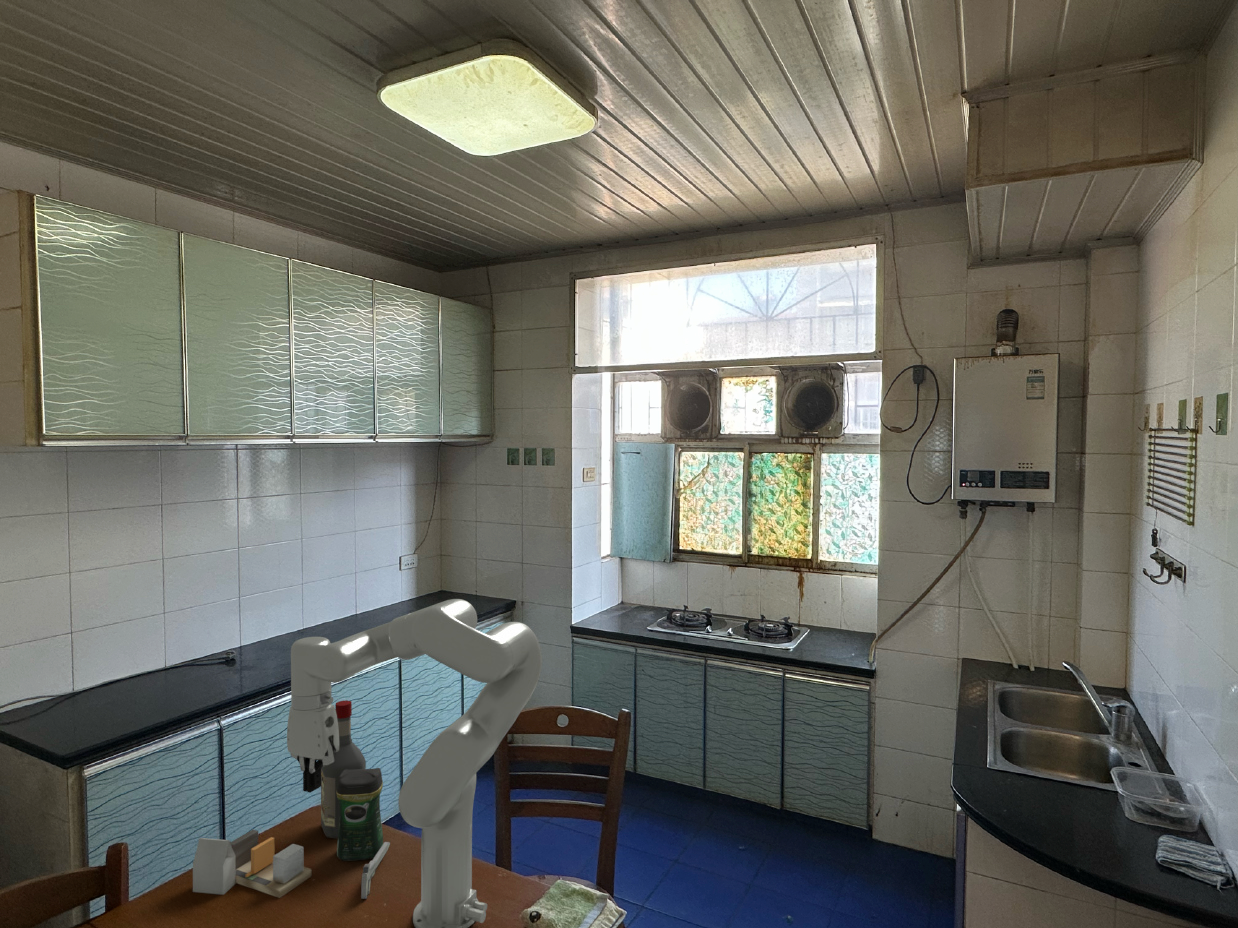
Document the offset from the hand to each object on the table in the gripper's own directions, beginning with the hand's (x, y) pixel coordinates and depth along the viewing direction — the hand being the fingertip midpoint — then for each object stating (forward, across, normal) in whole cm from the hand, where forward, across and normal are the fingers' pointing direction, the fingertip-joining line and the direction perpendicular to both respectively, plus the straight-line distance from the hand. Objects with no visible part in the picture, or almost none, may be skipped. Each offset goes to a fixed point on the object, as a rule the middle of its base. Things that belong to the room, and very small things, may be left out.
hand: (312, 788), depth 144 cm
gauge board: (+21, +12, 0) cm, 24 cm away
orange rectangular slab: (+19, +14, +1) cm, 24 cm away
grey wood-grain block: (+19, +7, 0) cm, 20 cm away
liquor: (+21, +13, -21) cm, 33 cm away
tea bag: (+21, +20, +7) cm, 30 cm away
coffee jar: (+21, +2, -15) cm, 26 cm away
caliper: (+22, -7, -11) cm, 25 cm away
